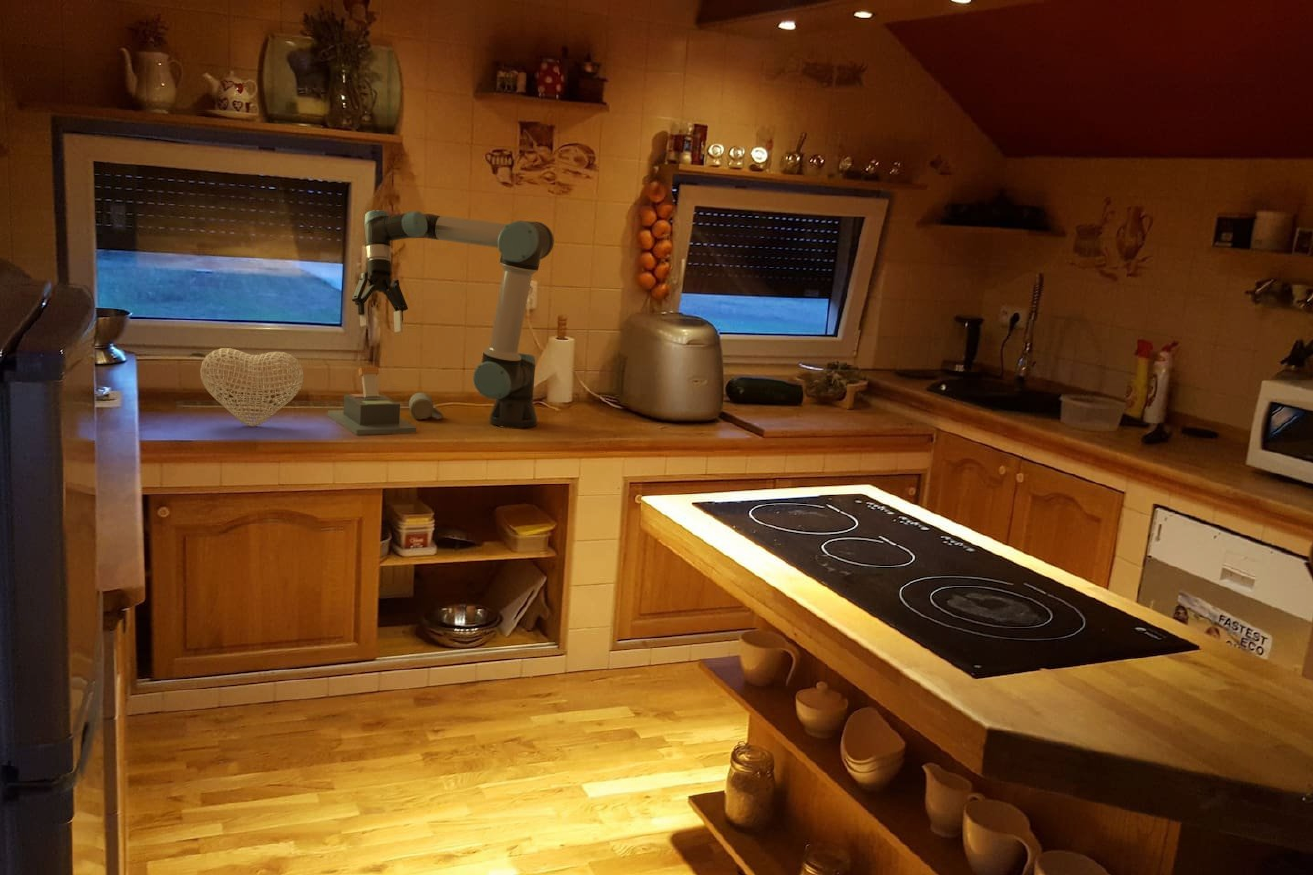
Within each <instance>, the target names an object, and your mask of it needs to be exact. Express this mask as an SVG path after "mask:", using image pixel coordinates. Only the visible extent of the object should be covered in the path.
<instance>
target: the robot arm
mask: <svg viewBox="0 0 1313 875" xmlns="http://www.w3.org/2000/svg"><path fill="white" fill-rule="evenodd" d="M364 234H365V235H364V236H365V257H366V258H365V259H366V261H367V262H366V271H365V272H362V273H359V275H358V276H359V278H358V283H357V285H356V288H355V290H354V293H353V295H352V298H351V300H352V302H354V304H355V305H356V306H357V313H358V315H359V326H360V327H362V328H364V327H367V326H369V311H368V309H369V308H368V303H366V302H367V300H369V298H370V296H371V295H372V294H373V292H374V291H375V292H379V293H383V295H385V296H386V298H387V299H388V301H389V302H390V304H391V306H392V307H393V309H394V311H393V326H394V327H393V328H394V329H393V330H394V333H395V334H397V333H401V332H403V321H404V311H407V310H409V307H408V304H407V302H406V299H405V297H404V295H403V292H402V290H401V286H400V280H399V279H392V278H391V275H392V273H393V272H392V271H393V269H392V268H393V267H392V266H393V265H392V262H391V260H392V247H391V242H393V241H399V240H405V239H428V240H438V241H446V242H453V243H454V242H455V243H459V244H466V245H467V244H468V245H476V246H482V247H490V248H498V251H499V252H500V259H499V264H500V266H501V267H502V270H503V272H502V275H501V277H502V278H501V282H500V288H499V292H498V298H497V299H498V300H497V305H496V308H495V316H494V320H493V327H492V332H491V337H490V343H489V346H488V347H487V348H485V349H484V350H483V351H482V352H483V354H482V357H481V358H482V359H481V363H480V364H478V366H477V367H476V368H475V369H474V372H473V385H474V388H476V390H477V391H478V393H479V394H480V395H481V396H482V397H485V398H487V399H490V400H495V401H494V404H493V406H492V409H491V412H490V414H489V421H488V422H489V424H491V425H493V424H495V425H494V426H496V425H499V426H498V427H500V426H503V427H502V428H507V427H514V428H513V429H525V428H524V427H530V428H533V427H532V426H534V427H536V426H537V425H536V424H538V416H537V412H536V410H535V404H534V388H535V387H534V386H535V385H534V384H535V376H536V373H535V372H536V371H535V370H536V367H537V366H536V358H535V356H534V355H533V354H530V353H529V354H528V353H521V352H519V345H520V340H521V335H522V330H523V325H524V320H525V319H524V318H525V314H526V308H527V303H528V297H529V293H530V288H531V284H532V283H531V281H532V277H533V275H534V274H536V273H537V272H539V268H540V262H541V260H542V259H544V258H546V257H547V256H549V255H550V253H551V252H552V250H553V249H554V244H555V239H554V234H553V232H552V230H551V229H550V227H548V226H547V225H546V224H544V223H542V222H540V221H530V220H529V221H526V220H516V221H513V222H510V223H502V222H501V223H500V222H495V221H494V222H492V221H484V220H477V219H469V218H460V217H454V216H453V217H452V216H444V215H441V216H440V215H436V214H432V213H422V212H421V211H418V210H417V211H408V212H404V213H399V214H395V215H394V214H393V215H390V214H389V212H388V211H386V210H380V209H378V210H376V209H373V210H369V211H367V212H366V213H365V215H364ZM367 283H369V284H368V285H367ZM535 425H536V426H535Z"/></svg>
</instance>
